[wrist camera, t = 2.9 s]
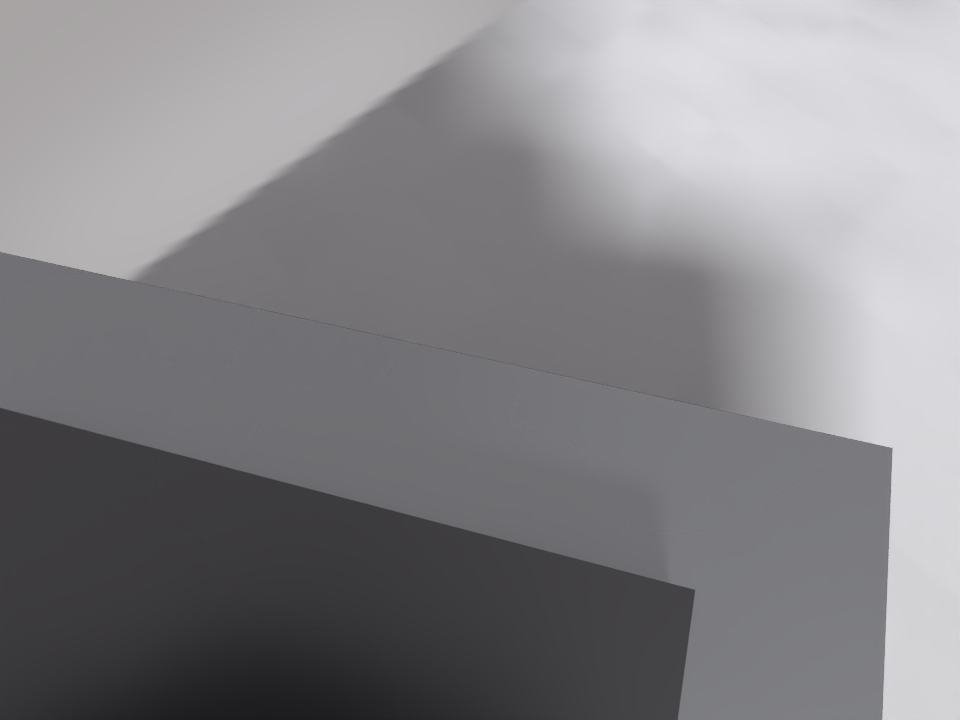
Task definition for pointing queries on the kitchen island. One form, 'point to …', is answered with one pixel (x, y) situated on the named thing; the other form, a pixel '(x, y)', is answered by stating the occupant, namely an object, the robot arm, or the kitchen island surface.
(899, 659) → the kitchen island surface
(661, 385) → the kitchen island surface
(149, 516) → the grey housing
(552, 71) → the kitchen island surface
